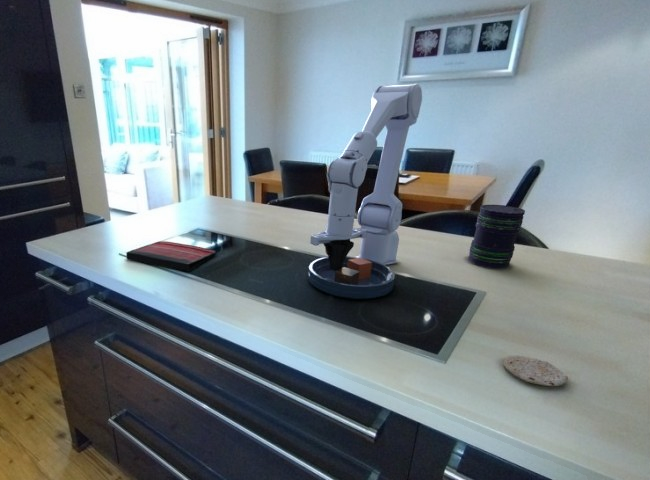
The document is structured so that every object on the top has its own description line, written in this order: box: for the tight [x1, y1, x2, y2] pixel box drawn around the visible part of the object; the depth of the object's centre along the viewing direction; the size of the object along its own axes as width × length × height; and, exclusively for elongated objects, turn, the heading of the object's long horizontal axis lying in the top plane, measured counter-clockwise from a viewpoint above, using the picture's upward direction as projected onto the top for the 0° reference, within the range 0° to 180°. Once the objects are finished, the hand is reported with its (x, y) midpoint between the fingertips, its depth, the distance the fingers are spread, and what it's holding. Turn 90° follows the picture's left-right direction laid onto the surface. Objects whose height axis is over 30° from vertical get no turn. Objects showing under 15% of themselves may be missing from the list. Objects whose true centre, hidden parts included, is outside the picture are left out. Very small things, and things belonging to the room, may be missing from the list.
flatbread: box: [502, 355, 569, 387], centre depth 61 cm, size 8×8×1 cm
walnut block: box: [334, 267, 360, 285], centre depth 89 cm, size 4×4×4 cm
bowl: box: [307, 255, 396, 300], centre depth 93 cm, size 19×19×4 cm
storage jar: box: [467, 204, 526, 270], centre depth 104 cm, size 10×10×15 cm
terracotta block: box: [347, 257, 372, 280], centre depth 96 cm, size 4×4×4 cm
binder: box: [125, 240, 217, 273], centre depth 111 cm, size 16×2×21 cm
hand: (335, 269), depth 93 cm, fingers closed
